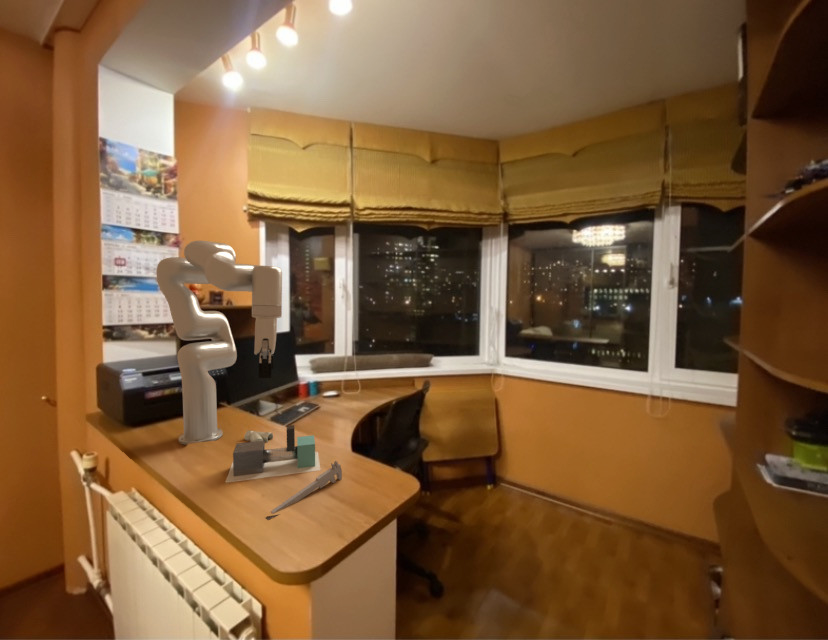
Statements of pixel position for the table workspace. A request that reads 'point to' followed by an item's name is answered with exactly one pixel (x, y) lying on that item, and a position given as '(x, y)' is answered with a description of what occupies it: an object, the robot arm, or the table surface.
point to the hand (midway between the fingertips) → (266, 373)
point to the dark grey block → (248, 458)
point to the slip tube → (282, 449)
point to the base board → (275, 470)
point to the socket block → (306, 451)
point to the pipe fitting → (258, 436)
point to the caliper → (312, 486)
